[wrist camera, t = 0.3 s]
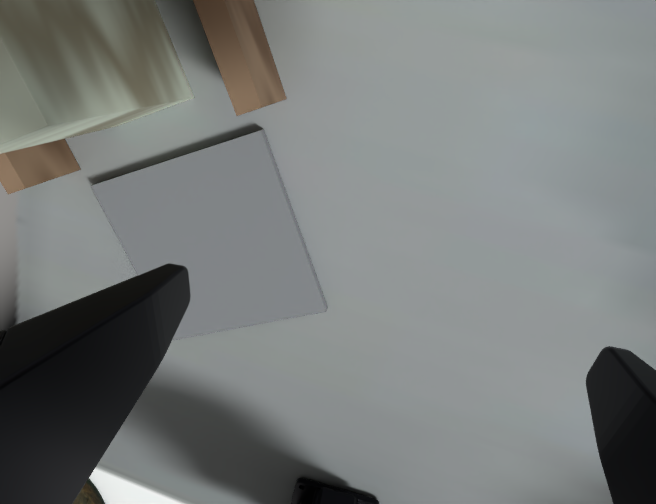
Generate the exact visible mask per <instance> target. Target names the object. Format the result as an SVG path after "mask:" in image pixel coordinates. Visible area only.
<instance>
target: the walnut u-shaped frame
mask: <svg viewBox="0 0 656 504" xmlns="http://www.w3.org/2000/svg"><path fill="white" fill-rule="evenodd" d="M193 2H194V4H195V7H196V10H197V12H198V15H199V18H200V20H201V23H202V26H203V28H204V31H205V33H206V36H207V39H208V41H209V44H210V47H211V49H212V52H213V55H214V57H215V60H216V62H217V65H218V68H219V70H220V73H221V76H222V78H223V81H224V84H225V86H226V89H227V91H228V94H229V97H230V99H231V102H232V105H233V107H234V110H235V113H236V115H237V116H238V115H241V114H244V113H247V112H250V111H253V110H256V109H259V108H262V107H264V106H267V105H270V104H273V103H276V102H279V101H282V100H285V99H286V96H285V93H284V90H283V87H282V84H281V81H280V78H279V75H278V72H277V69H276V66H275V63H274V60H273V57H272V54H271V51H270V48H269V45H268V42H267V39H266V36H265V33H264V30H263V27H262V24H261V21H260V18H259V15H258V12H257V9H256V6H255V3H254V0H193ZM78 170H81V169H80V167H79V165H78V163H77V161H76V159H75V158H74V156H73V154H72V152H71V150H70V148H69V146H68V144H67V143H66V141H65V139H61V140H57V141H53V142H48V143H44V144H40V145H36V146H31V147H27V148H23V149H19V150H14V151H10V152H6V153H2V154H0V182H1V183H2V185H3V187H4V188H5V190H6V192H7V193H8V194H11V193H13V192H16V191H19V190H22V189H25V188H28V187H31V186H34V185H37V184H40V183H43V182H46V181H48V180H51V179H54V178H57V177H60V176H63V175H66V174H69V173H72V172H75V171H78Z"/></svg>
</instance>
